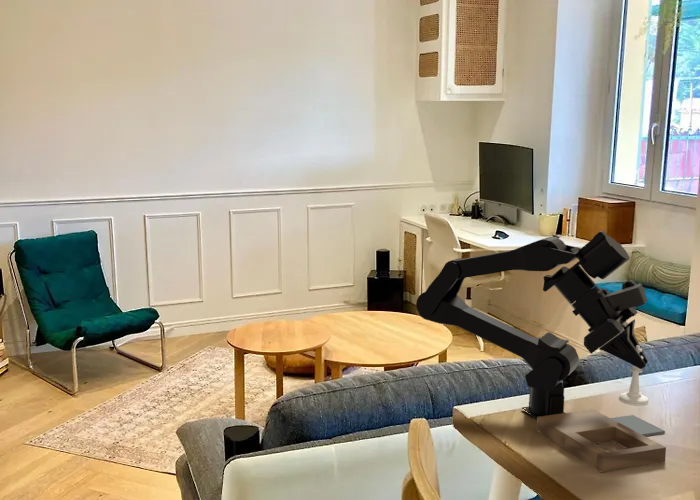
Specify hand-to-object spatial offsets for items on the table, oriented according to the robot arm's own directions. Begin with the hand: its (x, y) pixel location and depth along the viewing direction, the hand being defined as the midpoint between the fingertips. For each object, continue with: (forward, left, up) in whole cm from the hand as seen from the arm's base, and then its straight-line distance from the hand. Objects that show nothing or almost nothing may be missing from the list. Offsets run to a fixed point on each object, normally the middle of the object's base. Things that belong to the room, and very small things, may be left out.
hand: (644, 365), depth 121 cm
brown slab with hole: (+2, -11, -12) cm, 16 cm away
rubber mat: (-3, 0, -12) cm, 13 cm away
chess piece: (-1, -1, -7) cm, 7 cm away
